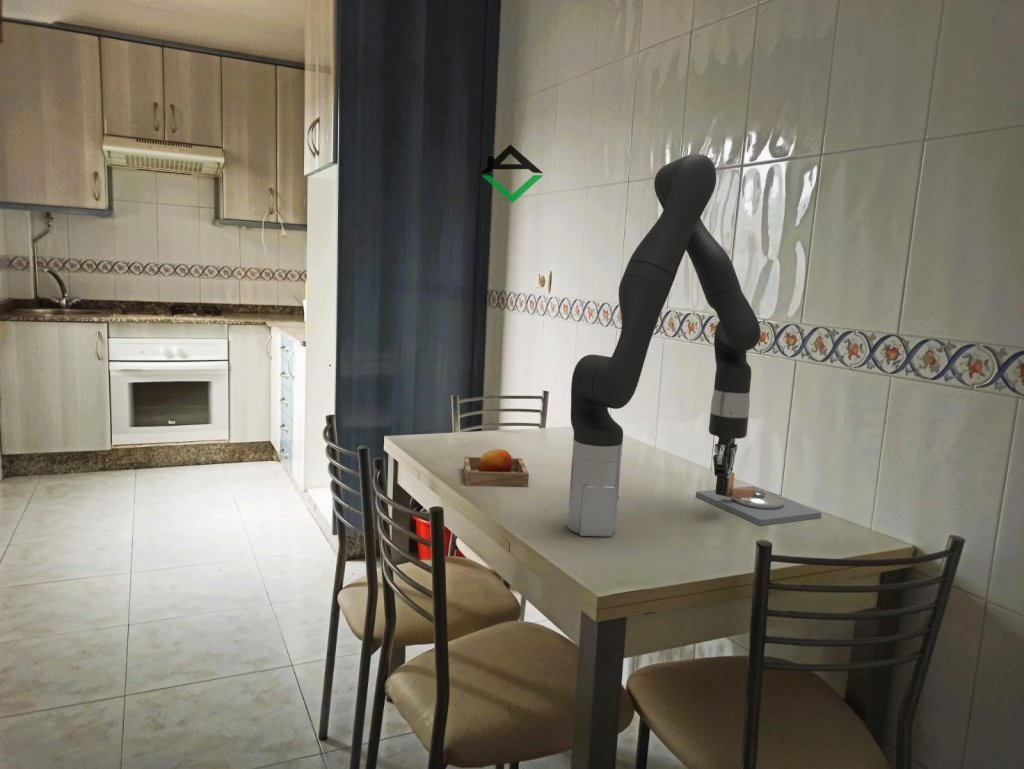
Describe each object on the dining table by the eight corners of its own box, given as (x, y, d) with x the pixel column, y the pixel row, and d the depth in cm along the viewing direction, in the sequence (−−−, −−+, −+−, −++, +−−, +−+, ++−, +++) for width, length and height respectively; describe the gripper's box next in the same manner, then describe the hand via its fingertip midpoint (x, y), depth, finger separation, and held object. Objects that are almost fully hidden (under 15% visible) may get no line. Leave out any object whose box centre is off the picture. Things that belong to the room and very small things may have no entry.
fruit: (507, 480, 168) (493, 447, 169) (481, 491, 172) (468, 459, 173) (525, 472, 175) (512, 441, 176) (500, 484, 179) (487, 453, 180)
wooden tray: (528, 486, 168) (528, 474, 168) (466, 485, 167) (466, 472, 166) (521, 470, 182) (521, 458, 182) (463, 468, 181) (464, 456, 180)
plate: (820, 517, 158) (821, 511, 157) (759, 525, 150) (760, 518, 150) (752, 490, 175) (753, 484, 175) (694, 496, 168) (695, 490, 168)
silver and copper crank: (770, 494, 169) (772, 467, 168) (792, 509, 158) (796, 481, 157) (711, 492, 167) (714, 466, 166) (730, 508, 156) (733, 479, 155)
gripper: (742, 419, 145) (734, 505, 147) (753, 410, 156) (745, 490, 159) (704, 414, 148) (696, 499, 151) (717, 405, 160) (709, 484, 162)
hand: (721, 494), depth 155 cm, fingers closed
